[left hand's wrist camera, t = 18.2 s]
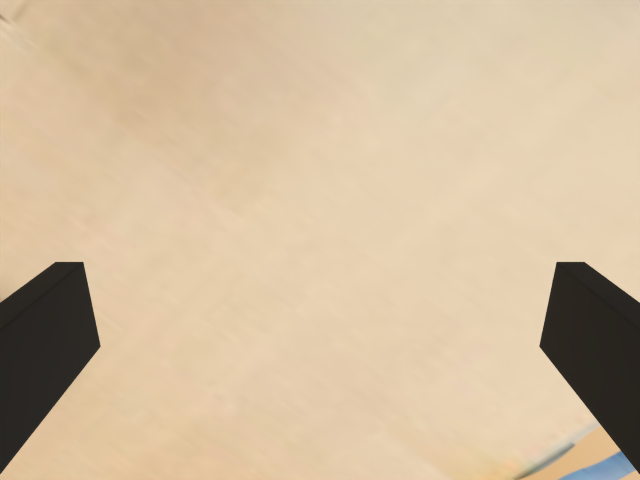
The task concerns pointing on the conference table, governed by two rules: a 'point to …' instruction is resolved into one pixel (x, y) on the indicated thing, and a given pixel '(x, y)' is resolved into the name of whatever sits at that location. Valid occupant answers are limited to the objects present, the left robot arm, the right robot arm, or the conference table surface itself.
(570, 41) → the conference table surface
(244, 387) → the conference table surface
